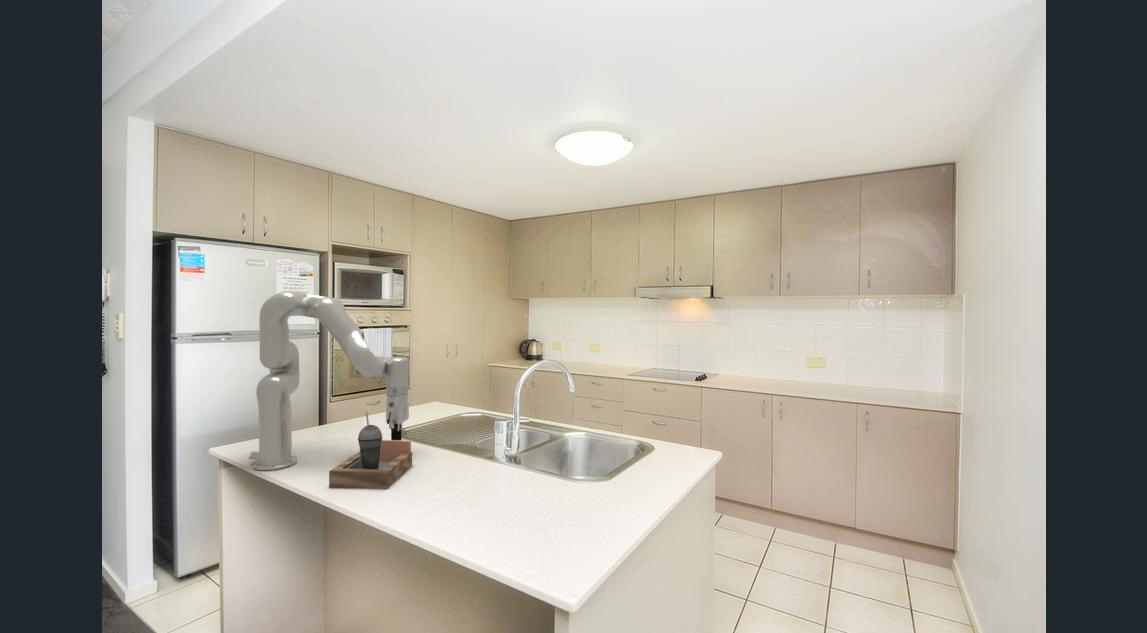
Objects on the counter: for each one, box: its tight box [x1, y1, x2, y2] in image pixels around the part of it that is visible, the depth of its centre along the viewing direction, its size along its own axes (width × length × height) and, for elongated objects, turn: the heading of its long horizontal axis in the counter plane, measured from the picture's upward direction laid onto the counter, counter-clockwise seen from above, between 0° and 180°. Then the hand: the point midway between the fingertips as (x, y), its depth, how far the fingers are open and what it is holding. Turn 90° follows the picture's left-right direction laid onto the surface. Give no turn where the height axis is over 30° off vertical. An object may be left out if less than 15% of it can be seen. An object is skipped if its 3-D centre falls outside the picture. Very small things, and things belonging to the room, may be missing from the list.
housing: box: [328, 451, 413, 490], centre depth 153 cm, size 20×18×5 cm
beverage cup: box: [357, 411, 383, 469], centre depth 151 cm, size 7×7×20 cm
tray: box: [345, 439, 412, 470], centre depth 155 cm, size 19×16×8 cm
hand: (396, 441), depth 172 cm, fingers closed
